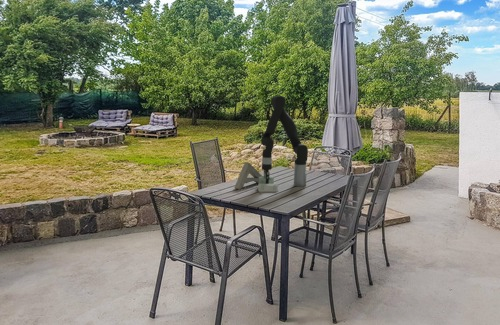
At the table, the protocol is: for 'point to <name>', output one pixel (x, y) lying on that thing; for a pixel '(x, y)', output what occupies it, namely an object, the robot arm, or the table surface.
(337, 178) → the table surface
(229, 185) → the table surface
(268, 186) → the rail
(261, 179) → the tapered block
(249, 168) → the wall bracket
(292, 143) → the robot arm
